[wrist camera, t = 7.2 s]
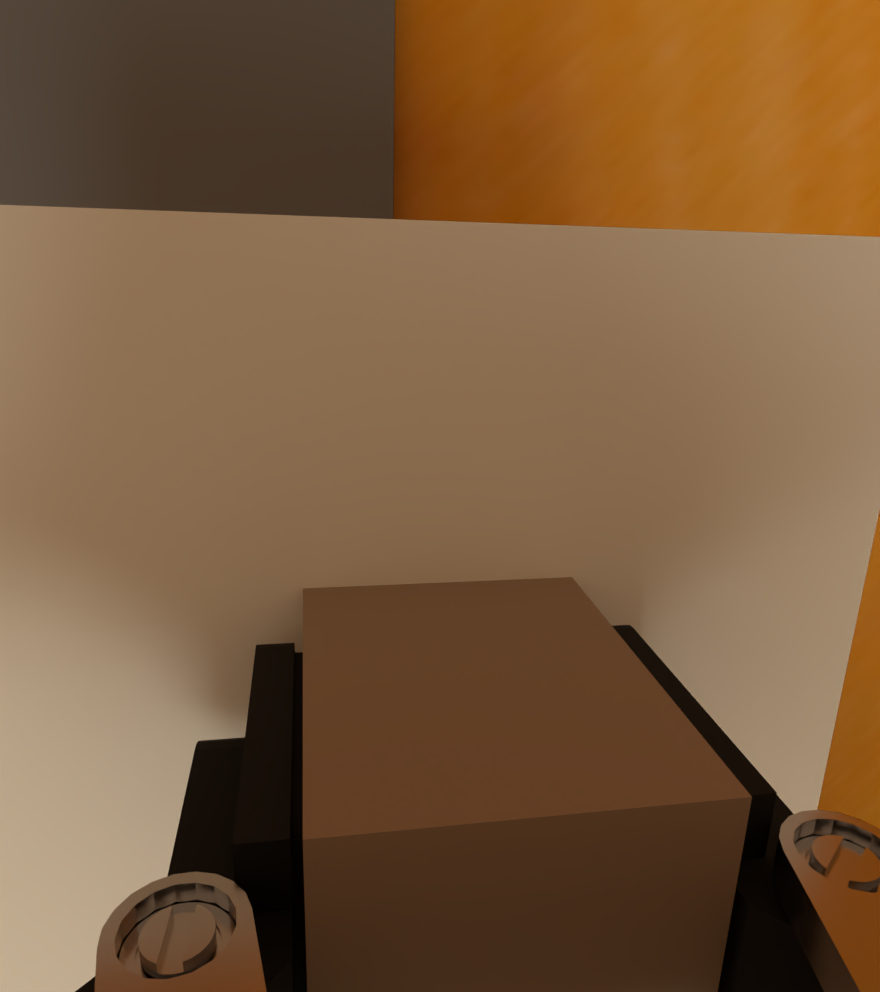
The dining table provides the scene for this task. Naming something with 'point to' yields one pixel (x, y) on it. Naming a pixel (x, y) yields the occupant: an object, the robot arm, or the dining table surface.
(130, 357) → the lid
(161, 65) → the mat
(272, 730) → the robot arm
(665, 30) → the dining table surface
